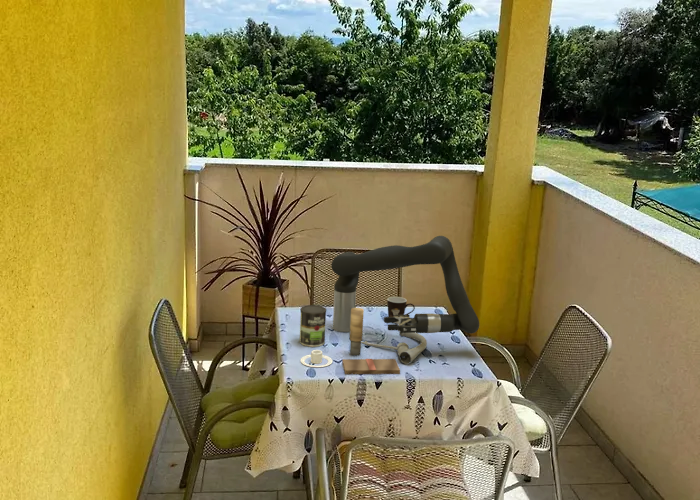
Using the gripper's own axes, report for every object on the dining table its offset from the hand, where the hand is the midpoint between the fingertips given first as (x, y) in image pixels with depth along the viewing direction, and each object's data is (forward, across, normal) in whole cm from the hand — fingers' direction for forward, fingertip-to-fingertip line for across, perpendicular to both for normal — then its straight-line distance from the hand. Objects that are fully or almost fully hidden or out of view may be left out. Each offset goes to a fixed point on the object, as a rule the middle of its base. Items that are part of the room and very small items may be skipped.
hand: (386, 323), depth 258 cm
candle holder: (+27, +7, +13) cm, 31 cm away
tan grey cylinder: (+12, 0, +12) cm, 17 cm away
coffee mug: (-12, -36, +12) cm, 40 cm away
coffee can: (+28, -12, +12) cm, 33 cm away
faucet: (-6, -8, +13) cm, 17 cm away
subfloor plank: (+7, +14, +12) cm, 20 cm away
